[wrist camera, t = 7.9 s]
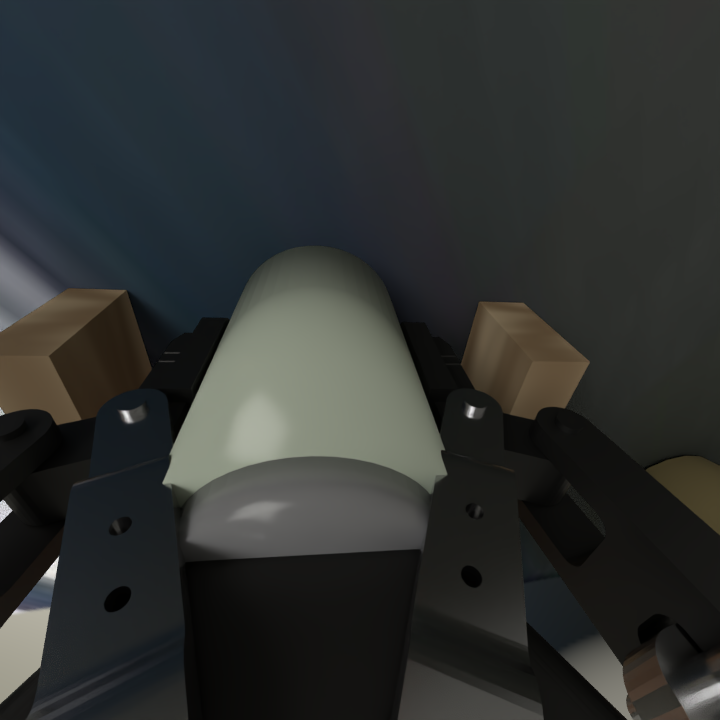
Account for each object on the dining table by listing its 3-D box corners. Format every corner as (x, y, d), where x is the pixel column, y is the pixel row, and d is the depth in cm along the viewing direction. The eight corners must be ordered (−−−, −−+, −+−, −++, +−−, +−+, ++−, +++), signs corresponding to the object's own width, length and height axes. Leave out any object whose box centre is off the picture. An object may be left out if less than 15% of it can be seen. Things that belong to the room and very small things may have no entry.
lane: (185, 566, 24) (158, 655, 20) (68, 288, 13) (-53, 365, 9) (430, 552, 27) (451, 630, 22) (523, 303, 15) (600, 371, 11)
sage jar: (249, 379, 14) (170, 660, 7) (229, 241, 11) (42, 495, 4) (383, 380, 14) (441, 637, 7) (402, 249, 11) (536, 480, 4)
